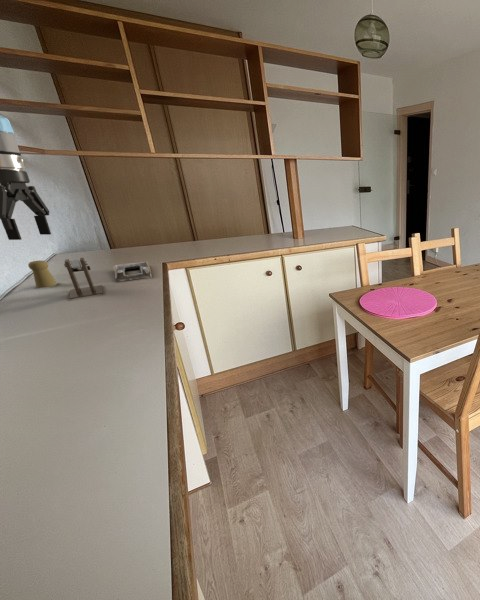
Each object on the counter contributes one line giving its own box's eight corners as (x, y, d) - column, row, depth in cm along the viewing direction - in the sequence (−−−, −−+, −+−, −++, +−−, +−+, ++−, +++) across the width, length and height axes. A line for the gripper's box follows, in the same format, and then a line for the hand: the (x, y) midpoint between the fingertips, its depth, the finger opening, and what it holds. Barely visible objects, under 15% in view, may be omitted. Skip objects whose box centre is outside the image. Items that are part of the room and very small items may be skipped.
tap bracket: (71, 292, 122) (58, 258, 117) (102, 287, 128) (90, 254, 123) (70, 301, 114) (55, 264, 109) (103, 295, 120) (90, 260, 115)
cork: (32, 288, 125) (20, 262, 121) (51, 284, 131) (40, 258, 127) (43, 290, 124) (32, 263, 120) (62, 285, 130) (51, 259, 126)
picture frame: (149, 266, 158) (147, 261, 157) (154, 278, 141) (152, 272, 139) (114, 271, 150) (112, 265, 149) (115, 284, 132) (113, 277, 131)
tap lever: (72, 273, 124) (70, 267, 124) (91, 271, 128) (89, 265, 128) (65, 268, 114) (63, 261, 114) (86, 265, 118) (84, 259, 117)
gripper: (-11, 167, 89) (16, 242, 96) (51, 172, 111) (69, 232, 118) (-47, 165, 87) (-17, 242, 94) (23, 171, 109) (43, 232, 116)
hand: (31, 237), depth 106 cm, fingers open, 13 cm apart
